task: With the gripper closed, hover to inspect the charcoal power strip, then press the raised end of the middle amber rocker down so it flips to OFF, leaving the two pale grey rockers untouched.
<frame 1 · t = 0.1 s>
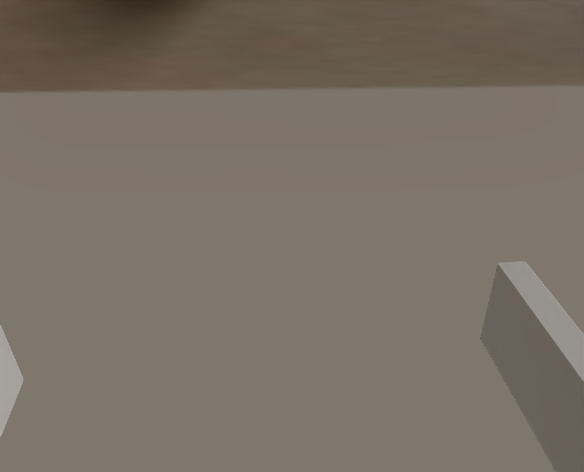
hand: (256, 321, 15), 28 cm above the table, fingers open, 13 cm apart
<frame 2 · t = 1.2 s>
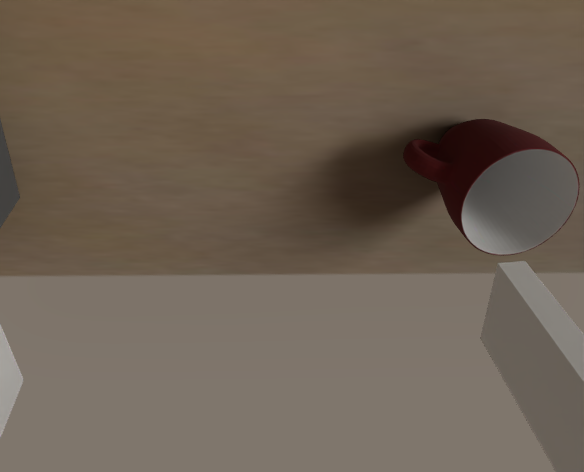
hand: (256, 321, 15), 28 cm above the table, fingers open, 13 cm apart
mug: (446, 143, 44), on the table
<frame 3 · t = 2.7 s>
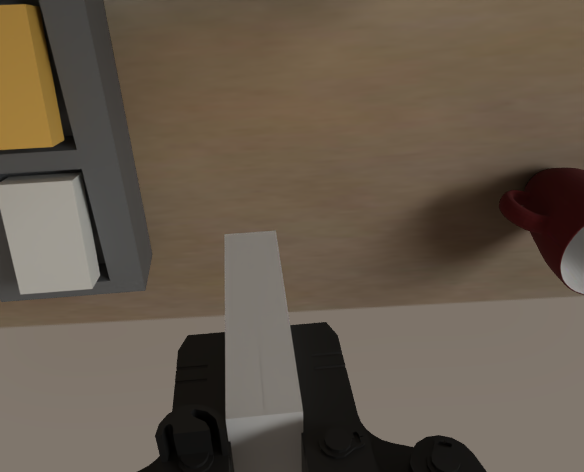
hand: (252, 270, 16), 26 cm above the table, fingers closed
power strip: (32, 58, 37), on the table
mug: (531, 187, 48), on the table
rocker amber: (3, 79, 33), point 6 cm above the table, hinge at -13.0°
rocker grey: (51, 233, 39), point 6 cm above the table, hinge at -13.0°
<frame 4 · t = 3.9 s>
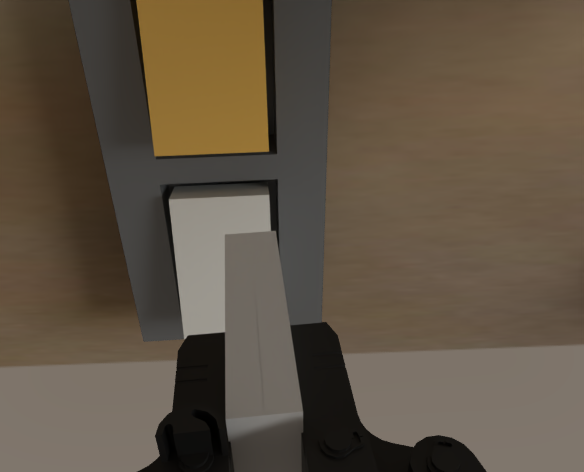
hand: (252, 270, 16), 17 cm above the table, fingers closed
power strip: (212, 31, 28), on the table
rocker amber: (206, 57, 24), point 6 cm above the table, hinge at -13.0°
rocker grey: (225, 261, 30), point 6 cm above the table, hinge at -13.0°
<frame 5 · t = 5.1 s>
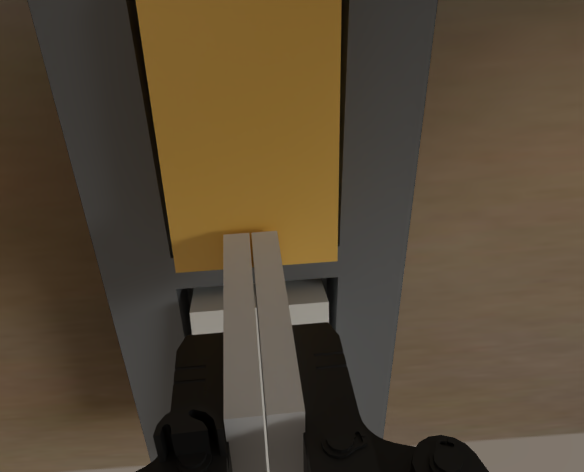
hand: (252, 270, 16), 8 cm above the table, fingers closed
power strip: (243, 74, 21), on the table
rocker amber: (248, 129, 16), point 6 cm above the table, hinge at -5.9°, touching gripper
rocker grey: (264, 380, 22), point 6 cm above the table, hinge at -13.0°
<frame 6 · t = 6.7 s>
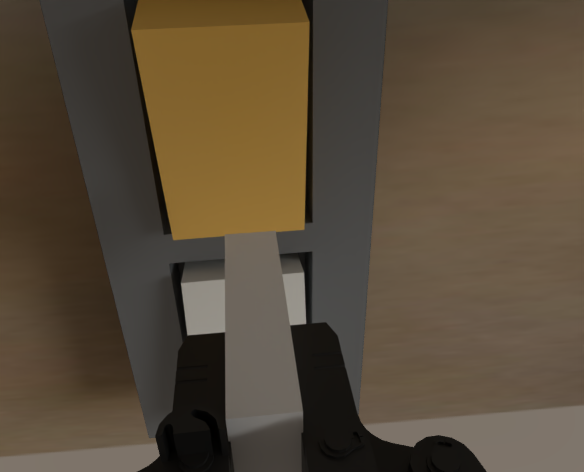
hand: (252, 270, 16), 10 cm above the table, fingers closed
power strip: (226, 74, 23), on the table
rocker amber: (230, 127, 19), point 6 cm above the table, hinge at 10.2°
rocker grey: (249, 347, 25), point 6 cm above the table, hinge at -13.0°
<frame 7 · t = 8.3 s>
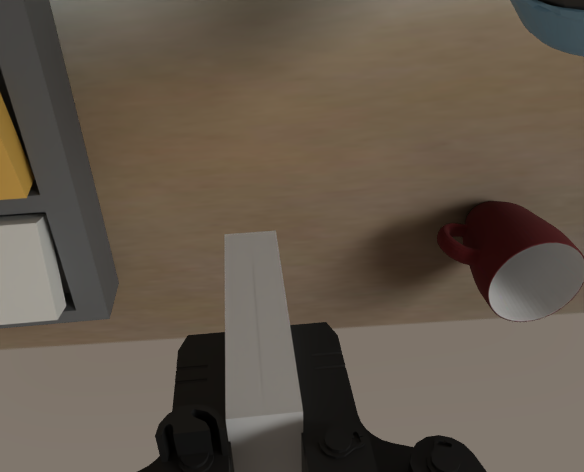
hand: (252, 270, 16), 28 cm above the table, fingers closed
power strip: (0, 110, 41), on the table
mug: (472, 217, 51), on the table
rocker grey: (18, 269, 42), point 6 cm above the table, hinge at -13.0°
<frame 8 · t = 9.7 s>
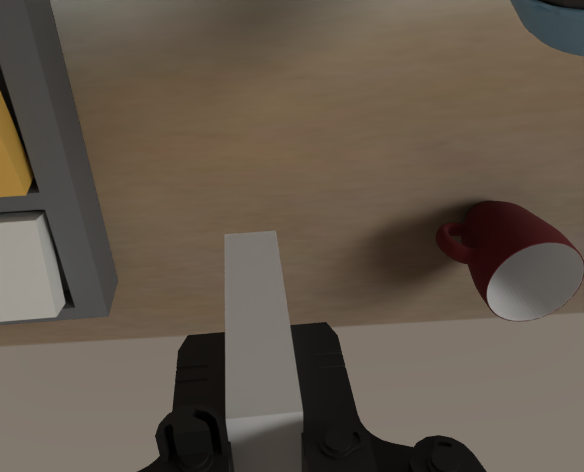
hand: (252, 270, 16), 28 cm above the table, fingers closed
power strip: (0, 107, 41), on the table
mug: (471, 217, 51), on the table
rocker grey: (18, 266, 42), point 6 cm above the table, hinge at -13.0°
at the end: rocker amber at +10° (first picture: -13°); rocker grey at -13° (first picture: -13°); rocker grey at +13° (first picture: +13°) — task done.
